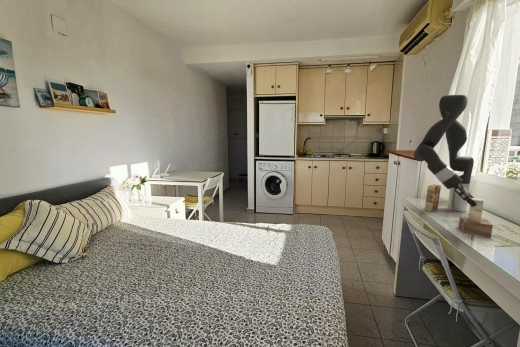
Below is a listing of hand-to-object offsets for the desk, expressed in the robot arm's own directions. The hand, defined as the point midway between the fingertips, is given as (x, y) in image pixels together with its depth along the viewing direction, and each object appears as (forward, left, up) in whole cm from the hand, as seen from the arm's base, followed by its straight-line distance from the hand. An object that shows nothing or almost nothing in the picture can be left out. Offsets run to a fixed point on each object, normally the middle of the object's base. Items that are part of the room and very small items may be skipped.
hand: (475, 204), depth 118 cm
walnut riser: (0, +1, -14) cm, 14 cm away
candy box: (-30, -19, -14) cm, 38 cm away
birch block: (0, +1, -8) cm, 8 cm away
